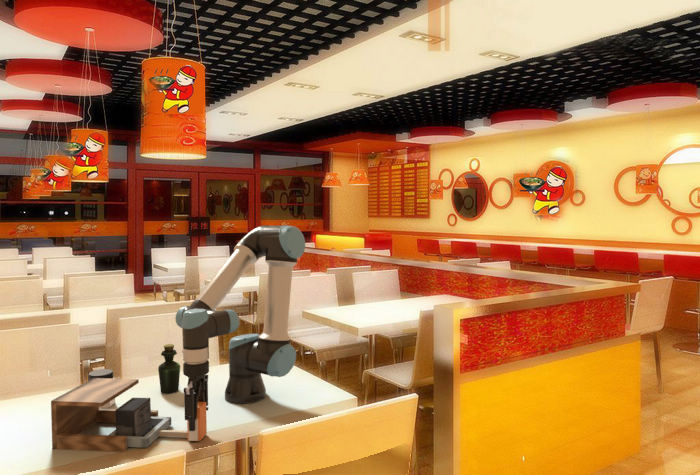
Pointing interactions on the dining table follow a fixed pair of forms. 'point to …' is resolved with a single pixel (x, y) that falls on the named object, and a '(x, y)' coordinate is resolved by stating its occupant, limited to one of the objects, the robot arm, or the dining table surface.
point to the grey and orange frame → (161, 427)
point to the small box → (134, 418)
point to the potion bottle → (169, 371)
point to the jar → (103, 374)
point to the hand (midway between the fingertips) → (197, 435)
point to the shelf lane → (88, 415)
